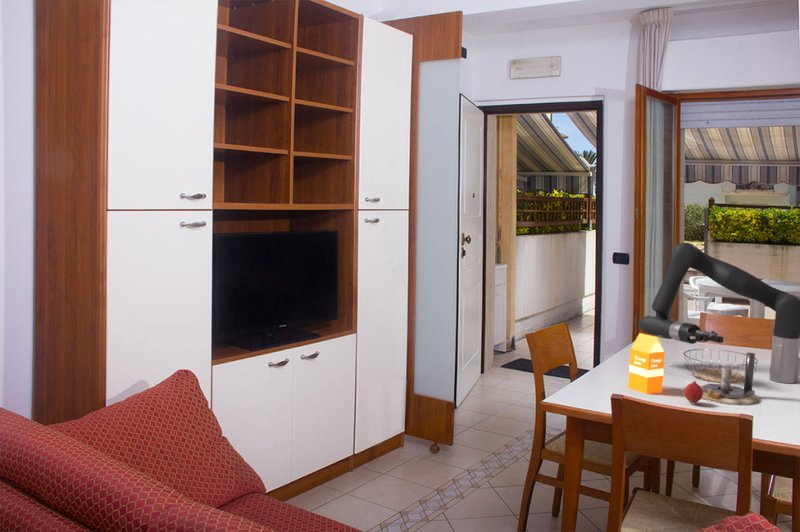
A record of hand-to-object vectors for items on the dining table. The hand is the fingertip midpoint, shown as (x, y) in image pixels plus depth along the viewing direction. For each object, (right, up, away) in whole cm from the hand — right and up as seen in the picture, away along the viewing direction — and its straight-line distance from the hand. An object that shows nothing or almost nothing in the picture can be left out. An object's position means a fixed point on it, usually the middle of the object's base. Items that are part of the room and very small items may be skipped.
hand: (722, 339), depth 261 cm
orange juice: (-29, -18, -4) cm, 35 cm away
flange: (-4, -18, -11) cm, 21 cm away
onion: (-19, -20, -20) cm, 34 cm away
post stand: (-3, -19, -10) cm, 21 cm away
